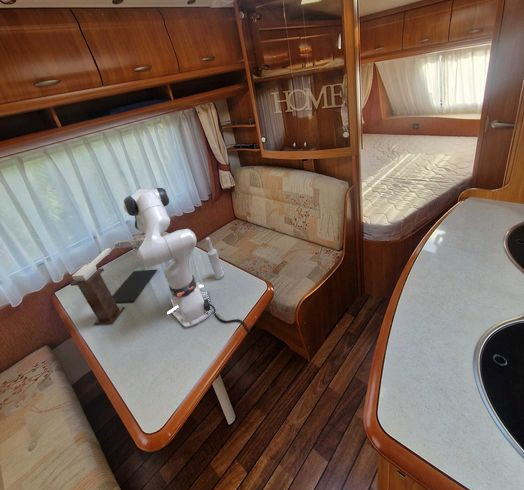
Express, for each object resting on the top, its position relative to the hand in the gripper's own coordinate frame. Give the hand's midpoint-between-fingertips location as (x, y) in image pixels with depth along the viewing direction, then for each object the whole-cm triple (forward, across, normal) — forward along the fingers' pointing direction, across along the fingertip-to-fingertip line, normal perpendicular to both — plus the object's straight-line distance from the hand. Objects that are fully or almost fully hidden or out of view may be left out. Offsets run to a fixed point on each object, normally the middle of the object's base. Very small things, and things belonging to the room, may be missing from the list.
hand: (122, 244), depth 152 cm
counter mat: (-7, 0, +24) cm, 26 cm away
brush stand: (+12, 0, +36) cm, 37 cm away
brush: (+19, 0, +9) cm, 21 cm away
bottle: (-10, +52, +23) cm, 58 cm away
